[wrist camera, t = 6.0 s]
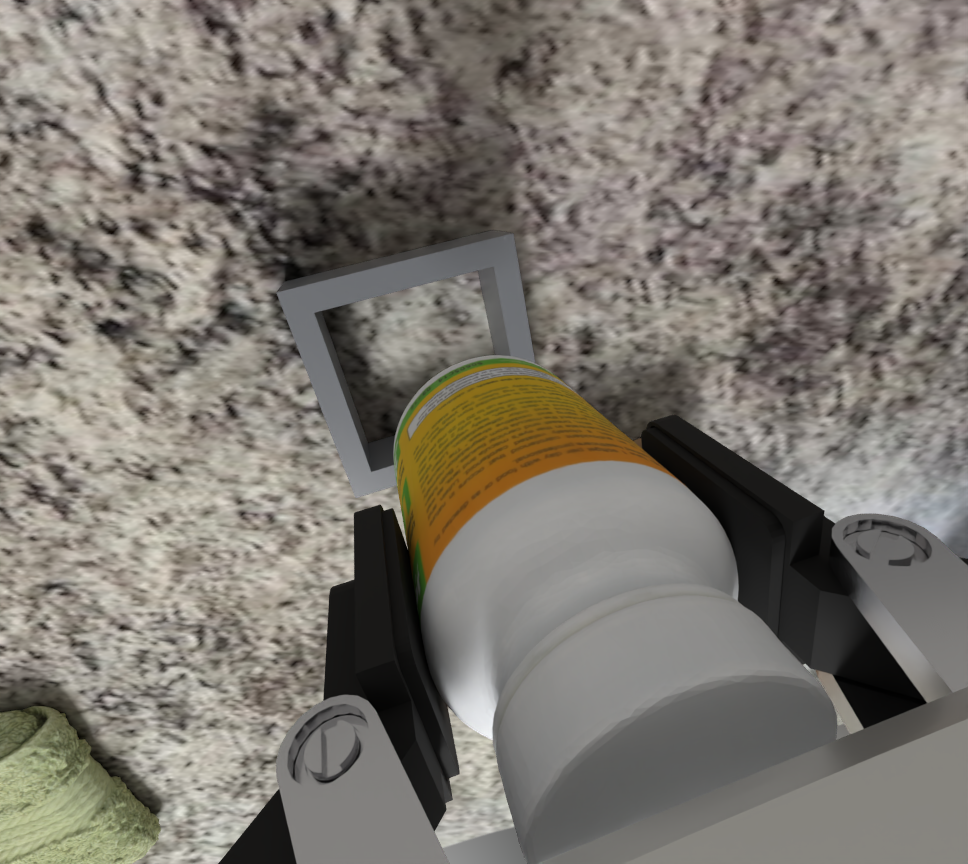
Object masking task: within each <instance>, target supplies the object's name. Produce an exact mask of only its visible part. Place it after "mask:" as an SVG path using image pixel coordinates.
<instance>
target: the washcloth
mask: <svg viewBox="0 0 968 864" xmlns="http://www.w3.org/2000/svg"><path fill="white" fill-rule="evenodd" d="M90 752H91V746H89V745H88V743H87V742H86V740H85V739H79V738H78V735H77V730H76V729H74V728H73V727H72V726H69V723H68V721H67V719H66V714H65V713H59V711H57V710H55V709H53V708H50V707H45V706H32V707H29V708H26V709H23V710H21V711H20V710H14V711H9V712H3V713H0V864H132V863H134V862H135V861H136V860H139V859H141V858H142V857H144V856H145V855H146V853H147V852H148V850H149V849H150V848H151V847H152V846H153V845H155V842H156V840H159V839H158V836H159V835H158V834H159V833H160V831H161V828H160V827H159V825H160V824H159V823H158V822H159V819H158V818H157V817H156V816H155V815H154V814H153V813H150V810H149V809H148V807H144V804H142V803H141V802H140V801H138V800H137V799H136V798H134V795H132V792H131V791H130V789H128V790H127V788H126V784H125V783H124V782H122V781H121V777H116V776H114V777H110V776H109V775H108V773H107V771H106V770H105V769H103V767H102V766H101V764H100V763H98V762H97V761H95V760H94V759H93V758H92V757H91V756H90Z"/></svg>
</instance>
